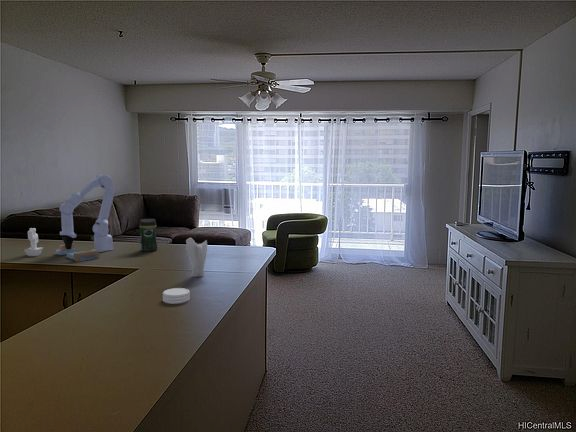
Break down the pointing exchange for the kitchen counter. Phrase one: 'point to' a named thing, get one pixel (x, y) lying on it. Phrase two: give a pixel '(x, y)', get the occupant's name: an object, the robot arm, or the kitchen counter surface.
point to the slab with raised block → (65, 250)
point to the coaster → (176, 295)
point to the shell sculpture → (196, 256)
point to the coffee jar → (148, 235)
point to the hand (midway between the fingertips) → (68, 249)
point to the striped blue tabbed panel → (83, 255)
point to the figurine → (33, 243)
